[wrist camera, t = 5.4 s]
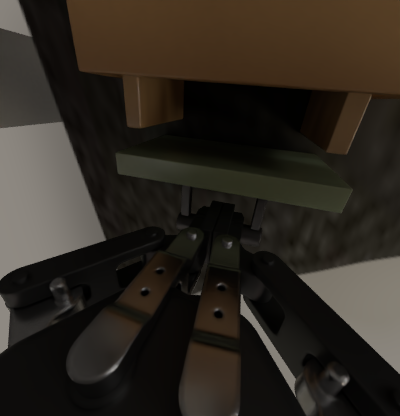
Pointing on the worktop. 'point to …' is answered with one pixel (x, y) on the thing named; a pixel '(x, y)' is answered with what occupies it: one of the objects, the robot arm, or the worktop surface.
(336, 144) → the drawer
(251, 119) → the worktop surface
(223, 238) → the robot arm
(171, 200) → the worktop surface
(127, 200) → the worktop surface
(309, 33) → the cabinet
